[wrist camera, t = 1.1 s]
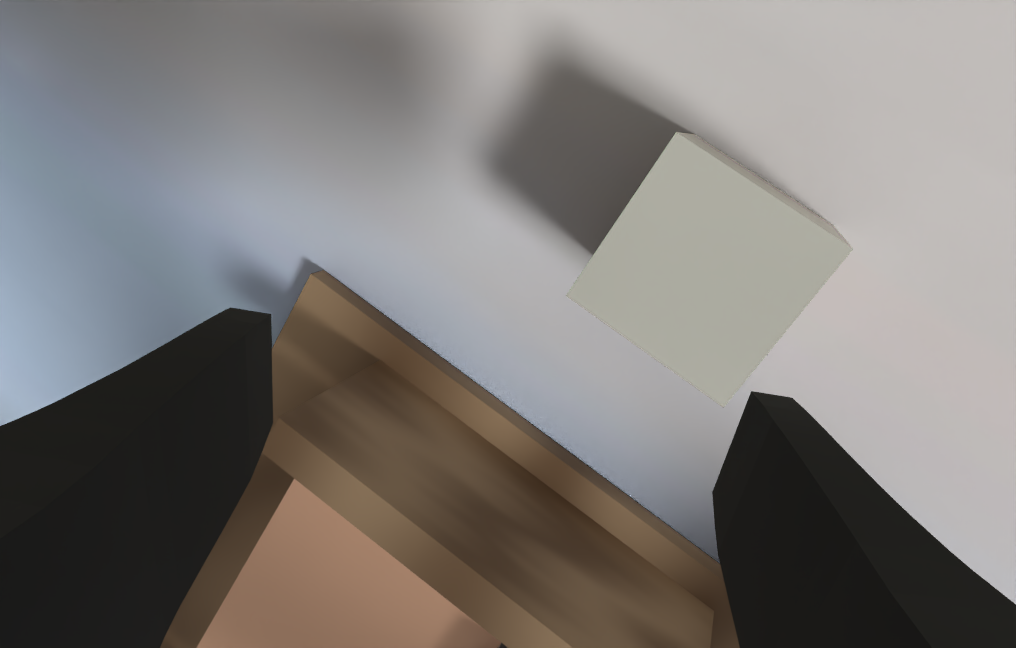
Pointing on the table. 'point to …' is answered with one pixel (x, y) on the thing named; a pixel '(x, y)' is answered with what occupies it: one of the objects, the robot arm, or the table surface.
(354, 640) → the trapdoor
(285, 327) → the frame
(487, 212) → the table surface
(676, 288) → the pale sage cube
